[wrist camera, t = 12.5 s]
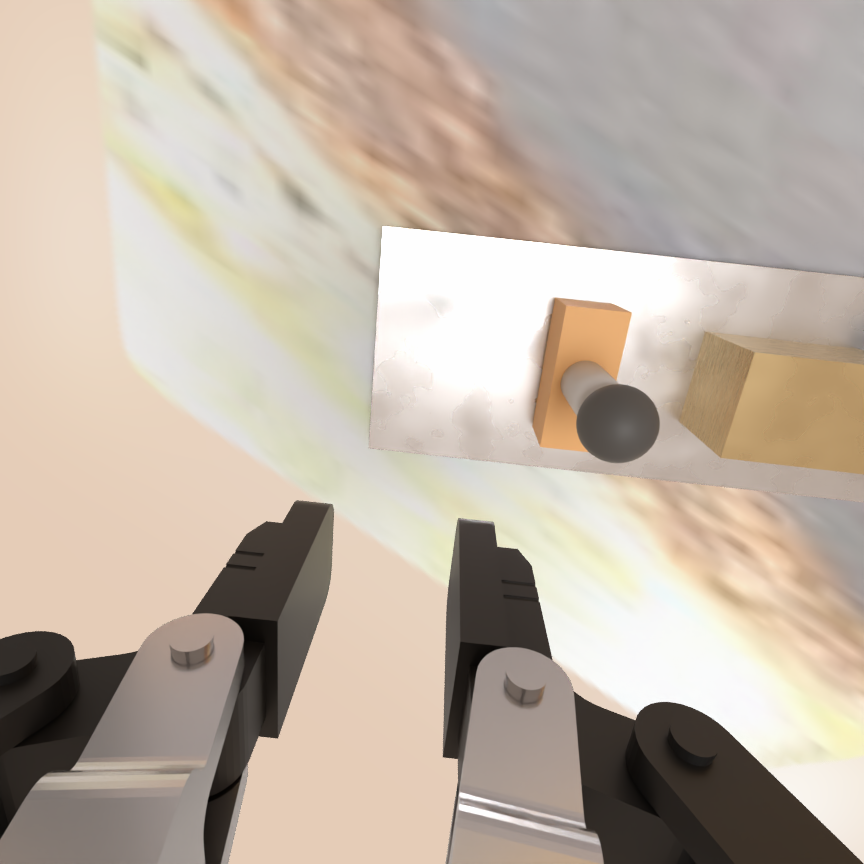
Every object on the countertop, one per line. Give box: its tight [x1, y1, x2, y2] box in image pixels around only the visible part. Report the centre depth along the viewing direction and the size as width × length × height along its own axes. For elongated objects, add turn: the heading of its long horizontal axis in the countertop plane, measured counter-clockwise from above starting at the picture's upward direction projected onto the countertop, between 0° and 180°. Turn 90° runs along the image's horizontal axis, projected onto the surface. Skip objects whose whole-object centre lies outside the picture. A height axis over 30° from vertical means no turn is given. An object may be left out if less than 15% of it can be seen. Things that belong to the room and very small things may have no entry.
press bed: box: [369, 226, 864, 502], centre depth 28 cm, size 30×12×6 cm, turn 84°
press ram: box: [532, 298, 660, 463], centre depth 24 cm, size 3×7×10 cm, turn 174°
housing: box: [679, 331, 864, 474], centre depth 27 cm, size 8×5×5 cm, turn 84°
